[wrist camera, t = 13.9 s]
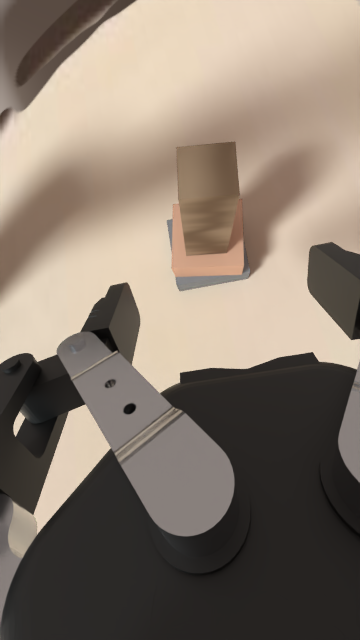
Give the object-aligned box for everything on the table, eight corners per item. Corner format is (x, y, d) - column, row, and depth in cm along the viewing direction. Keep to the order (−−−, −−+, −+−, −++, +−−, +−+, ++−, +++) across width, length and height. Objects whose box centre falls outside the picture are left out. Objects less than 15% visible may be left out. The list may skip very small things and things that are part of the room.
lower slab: (180, 292, 35) (176, 285, 32) (170, 231, 37) (166, 220, 34) (247, 279, 34) (250, 271, 31) (234, 218, 36) (236, 205, 33)
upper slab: (175, 277, 32) (171, 268, 30) (176, 218, 34) (172, 204, 31) (241, 274, 31) (244, 265, 28) (239, 213, 33) (241, 198, 30)
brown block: (186, 255, 29) (178, 199, 19) (184, 219, 30) (176, 147, 20) (226, 253, 29) (239, 194, 19) (224, 216, 30) (235, 141, 20)
